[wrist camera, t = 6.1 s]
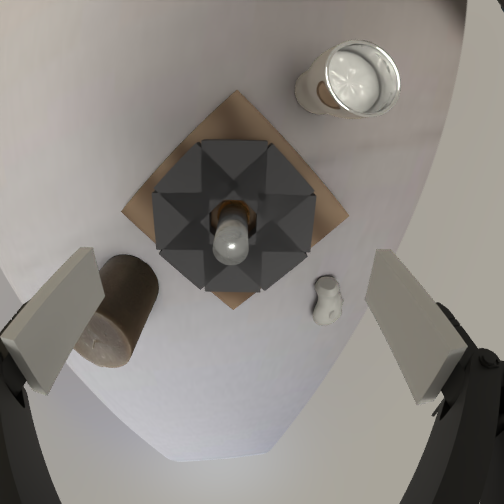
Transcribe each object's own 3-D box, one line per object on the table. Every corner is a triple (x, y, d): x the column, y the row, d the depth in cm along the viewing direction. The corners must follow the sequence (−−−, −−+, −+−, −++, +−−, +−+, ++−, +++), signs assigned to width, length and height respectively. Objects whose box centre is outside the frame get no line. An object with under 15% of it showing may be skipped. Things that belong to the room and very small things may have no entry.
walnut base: (237, 91, 32) (236, 89, 30) (344, 211, 39) (349, 215, 37) (126, 207, 37) (121, 211, 36) (233, 302, 44) (233, 309, 43)
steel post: (234, 190, 35) (230, 220, 25) (255, 211, 36) (261, 249, 26) (212, 211, 36) (200, 248, 26) (233, 231, 37) (230, 275, 27)
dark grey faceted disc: (235, 106, 29) (235, 105, 27) (339, 220, 35) (344, 226, 33) (129, 216, 34) (124, 222, 32) (232, 306, 40) (232, 315, 38)
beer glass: (344, 120, 33) (402, 125, 20) (290, 116, 33) (321, 115, 20) (344, 69, 30) (402, 47, 17) (290, 63, 30) (321, 30, 17)
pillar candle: (158, 258, 41) (122, 323, 27) (160, 312, 45) (134, 382, 31) (98, 250, 40) (48, 307, 27) (105, 303, 44) (68, 366, 31)
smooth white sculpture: (332, 310, 47) (305, 318, 46) (339, 269, 44) (310, 275, 42) (346, 325, 44) (319, 334, 42) (355, 282, 40) (325, 291, 39)
